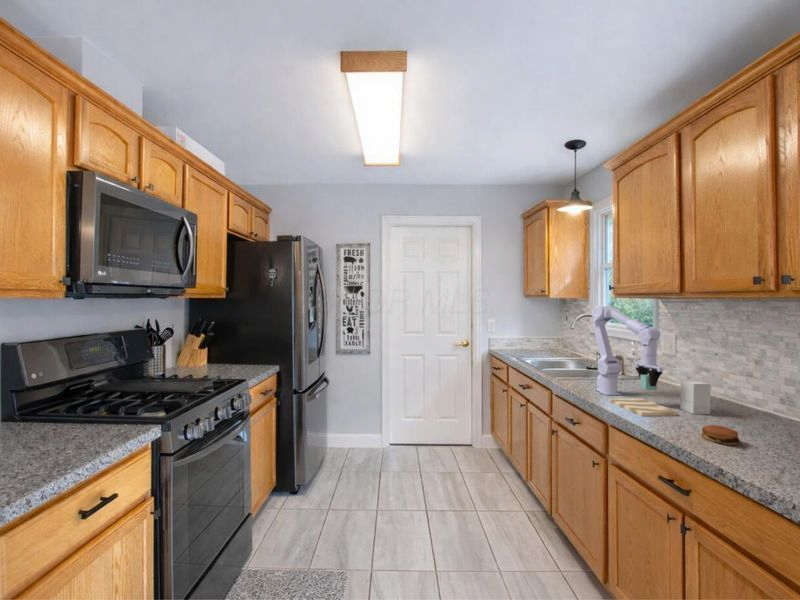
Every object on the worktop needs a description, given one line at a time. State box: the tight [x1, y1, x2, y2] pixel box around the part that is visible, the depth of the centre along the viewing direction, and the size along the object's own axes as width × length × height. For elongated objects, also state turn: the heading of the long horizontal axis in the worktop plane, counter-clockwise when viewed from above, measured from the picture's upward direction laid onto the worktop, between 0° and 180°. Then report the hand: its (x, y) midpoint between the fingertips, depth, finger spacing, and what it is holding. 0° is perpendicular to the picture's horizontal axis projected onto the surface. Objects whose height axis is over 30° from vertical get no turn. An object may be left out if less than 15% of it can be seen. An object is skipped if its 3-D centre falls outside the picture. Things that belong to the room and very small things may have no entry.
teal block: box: [639, 374, 658, 391], centre depth 165 cm, size 4×4×6 cm
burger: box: [701, 424, 741, 446], centre depth 123 cm, size 10×9×5 cm
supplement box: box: [679, 379, 711, 415], centre depth 155 cm, size 7×7×13 cm
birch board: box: [608, 397, 679, 417], centre depth 158 cm, size 20×16×2 cm
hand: (648, 384), depth 165 cm, fingers closed on teal block, 5 cm apart
